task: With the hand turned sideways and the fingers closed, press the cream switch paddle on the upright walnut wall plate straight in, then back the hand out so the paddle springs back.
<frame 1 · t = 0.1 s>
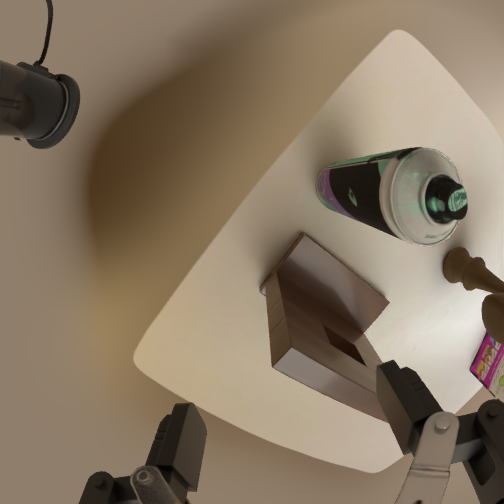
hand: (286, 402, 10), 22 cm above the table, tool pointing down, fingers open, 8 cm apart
spray can: (339, 187, 29), on the table
candy bar box: (487, 343, 35), on the table
wall plate: (316, 306, 33), on the table
kendama: (453, 263, 31), on the table
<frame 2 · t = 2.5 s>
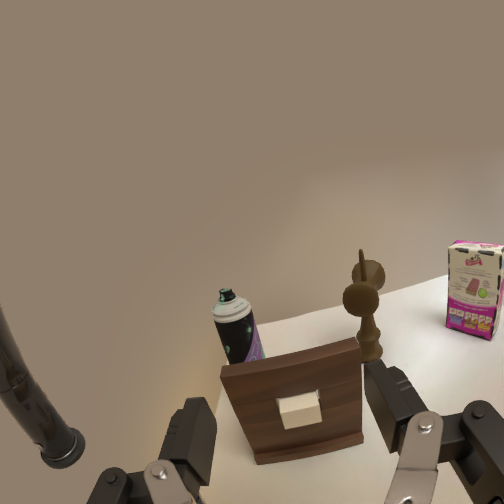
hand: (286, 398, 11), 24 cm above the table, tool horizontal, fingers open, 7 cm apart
spray can: (259, 396, 42), on the table
candy bar box: (471, 328, 39), on the table
wall plate: (308, 445, 30), on the table
switch paddle: (300, 408, 26), point 10 cm above the table, slide at 0.1 cm
kendama: (369, 356, 44), on the table
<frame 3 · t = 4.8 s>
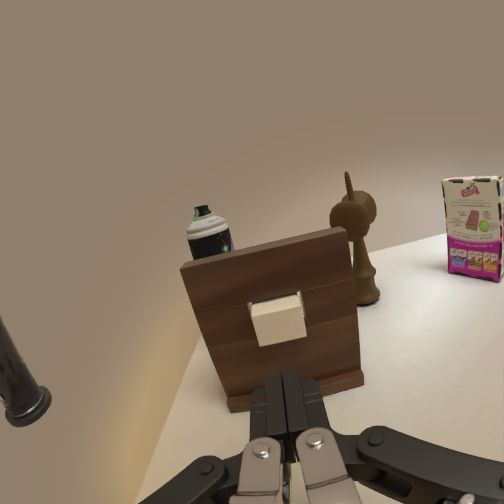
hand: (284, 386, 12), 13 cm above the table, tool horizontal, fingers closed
spray can: (240, 342, 40), on the table
candy bar box: (476, 273, 36), on the table
wall plate: (295, 389, 27), on the table
switch paddle: (278, 318, 23), point 10 cm above the table, slide at 0.1 cm
kendama: (365, 300, 42), on the table
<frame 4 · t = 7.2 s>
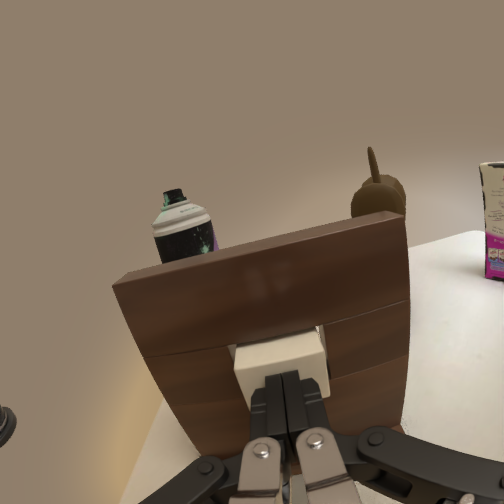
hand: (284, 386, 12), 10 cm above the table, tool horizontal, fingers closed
spray can: (230, 373, 29), on the table
wall plate: (305, 452, 16), on the table
switch paddle: (282, 367, 13), point 10 cm above the table, slide at -0.4 cm, touching gripper
kendama: (391, 315, 31), on the table
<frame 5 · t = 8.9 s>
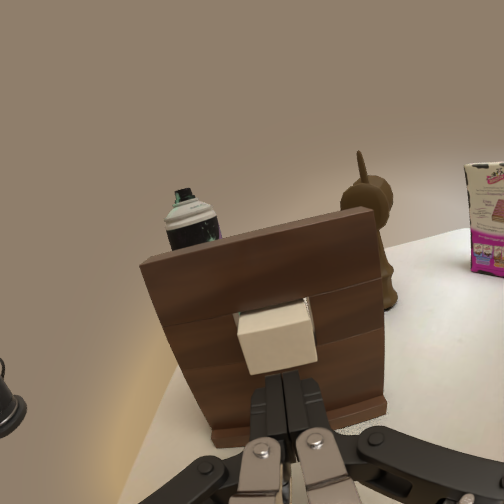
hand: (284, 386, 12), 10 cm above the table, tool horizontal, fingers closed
spray can: (232, 355, 33), on the table
candy bar box: (501, 272, 29), on the table
wall plate: (299, 420, 20), on the table
switch paddle: (277, 336, 16), point 10 cm above the table, slide at 0.1 cm
kendama: (380, 304, 35), on the table
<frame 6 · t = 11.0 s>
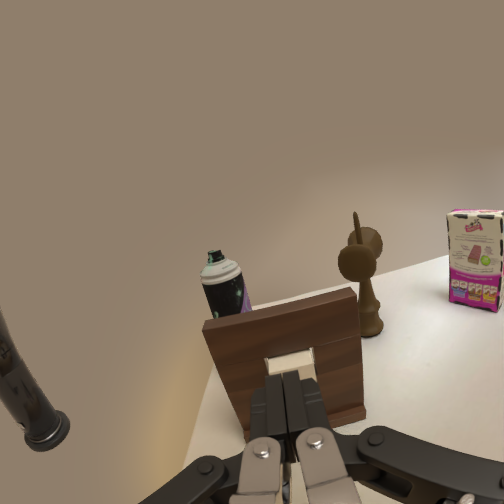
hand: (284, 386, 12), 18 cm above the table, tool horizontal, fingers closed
spray can: (252, 373, 41), on the table
candy bar box: (476, 302, 37), on the table
wall plate: (305, 422, 28), on the table
switch paddle: (292, 371, 24), point 10 cm above the table, slide at 0.1 cm
kendama: (369, 331, 43), on the table
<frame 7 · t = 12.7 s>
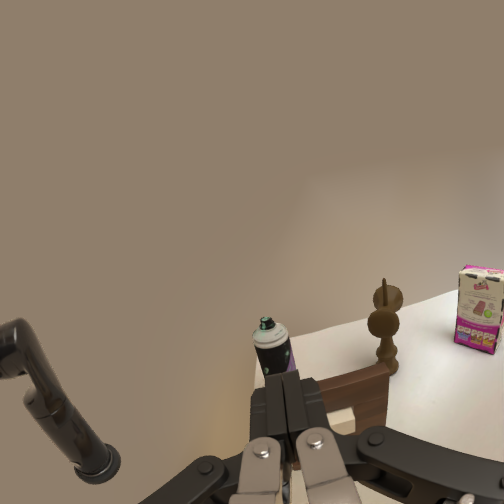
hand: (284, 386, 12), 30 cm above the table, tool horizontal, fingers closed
spray can: (289, 408, 45), on the table
candy bar box: (476, 343, 42), on the table
wall plate: (338, 451, 33), on the table
switch paddle: (337, 422, 29), point 10 cm above the table, slide at 0.1 cm
kendama: (386, 369, 47), on the table
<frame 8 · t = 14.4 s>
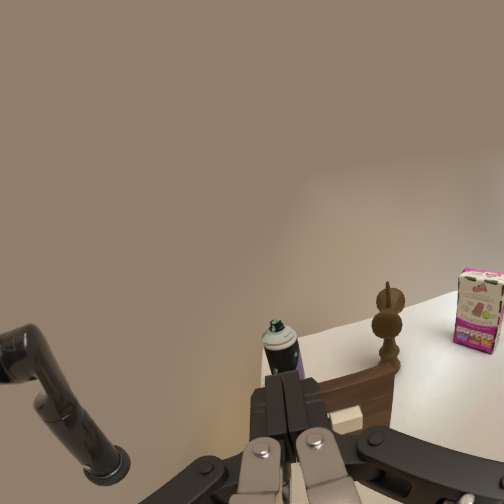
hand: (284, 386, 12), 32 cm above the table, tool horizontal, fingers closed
spray can: (296, 407, 47), on the table
candy bar box: (475, 343, 44), on the table
wall plate: (345, 447, 34), on the table
switch paddle: (345, 419, 30), point 10 cm above the table, slide at 0.1 cm
kendama: (388, 369, 49), on the table
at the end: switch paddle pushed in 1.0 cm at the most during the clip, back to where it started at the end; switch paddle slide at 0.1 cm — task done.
